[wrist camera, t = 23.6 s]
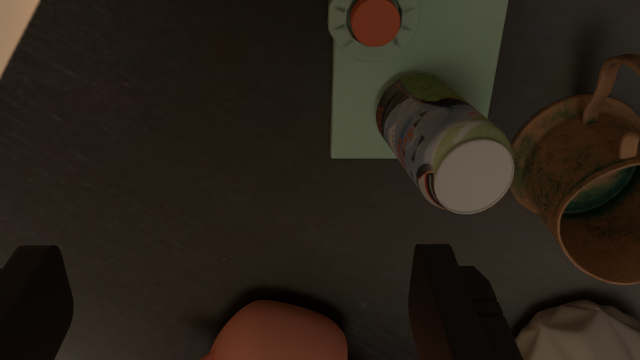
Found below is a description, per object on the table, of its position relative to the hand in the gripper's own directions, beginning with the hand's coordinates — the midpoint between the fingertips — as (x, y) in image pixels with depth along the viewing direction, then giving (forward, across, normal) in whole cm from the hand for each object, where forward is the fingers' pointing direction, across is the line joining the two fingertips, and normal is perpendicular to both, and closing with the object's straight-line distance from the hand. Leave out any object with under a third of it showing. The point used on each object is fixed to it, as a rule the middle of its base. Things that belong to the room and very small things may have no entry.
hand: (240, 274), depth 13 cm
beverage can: (+30, -11, +8) cm, 33 cm away
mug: (+32, -24, +11) cm, 42 cm away
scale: (+32, -10, +6) cm, 34 cm away
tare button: (+29, -7, +2) cm, 30 cm away
